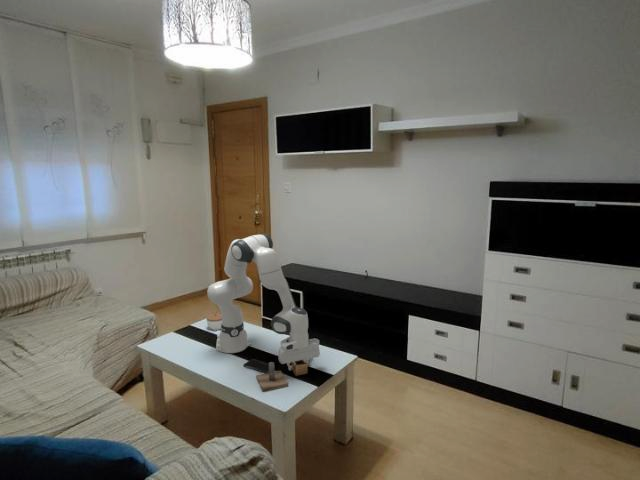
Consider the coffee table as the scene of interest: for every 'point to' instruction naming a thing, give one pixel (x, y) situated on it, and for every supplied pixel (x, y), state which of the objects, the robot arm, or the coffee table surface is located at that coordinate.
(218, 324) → the lidded jar
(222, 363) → the coffee table surface
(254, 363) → the phone
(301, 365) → the wooden square sleeve
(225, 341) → the robot arm
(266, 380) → the post stand
